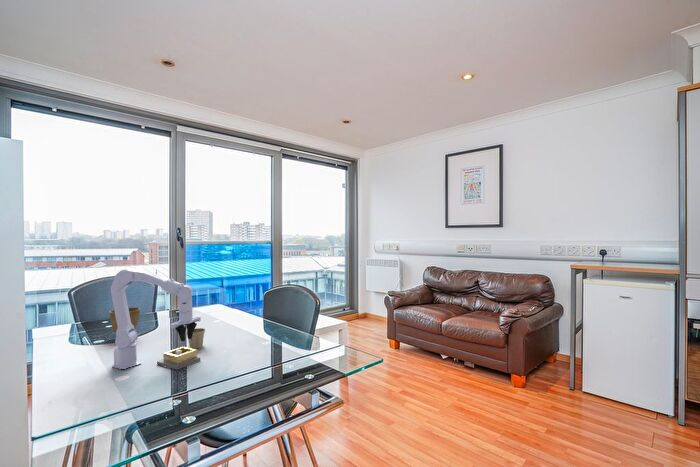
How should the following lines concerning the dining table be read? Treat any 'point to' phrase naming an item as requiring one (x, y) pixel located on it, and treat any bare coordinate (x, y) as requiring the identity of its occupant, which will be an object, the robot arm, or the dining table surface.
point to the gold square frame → (177, 359)
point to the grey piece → (178, 366)
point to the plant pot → (133, 316)
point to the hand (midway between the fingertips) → (186, 339)
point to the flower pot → (197, 338)
